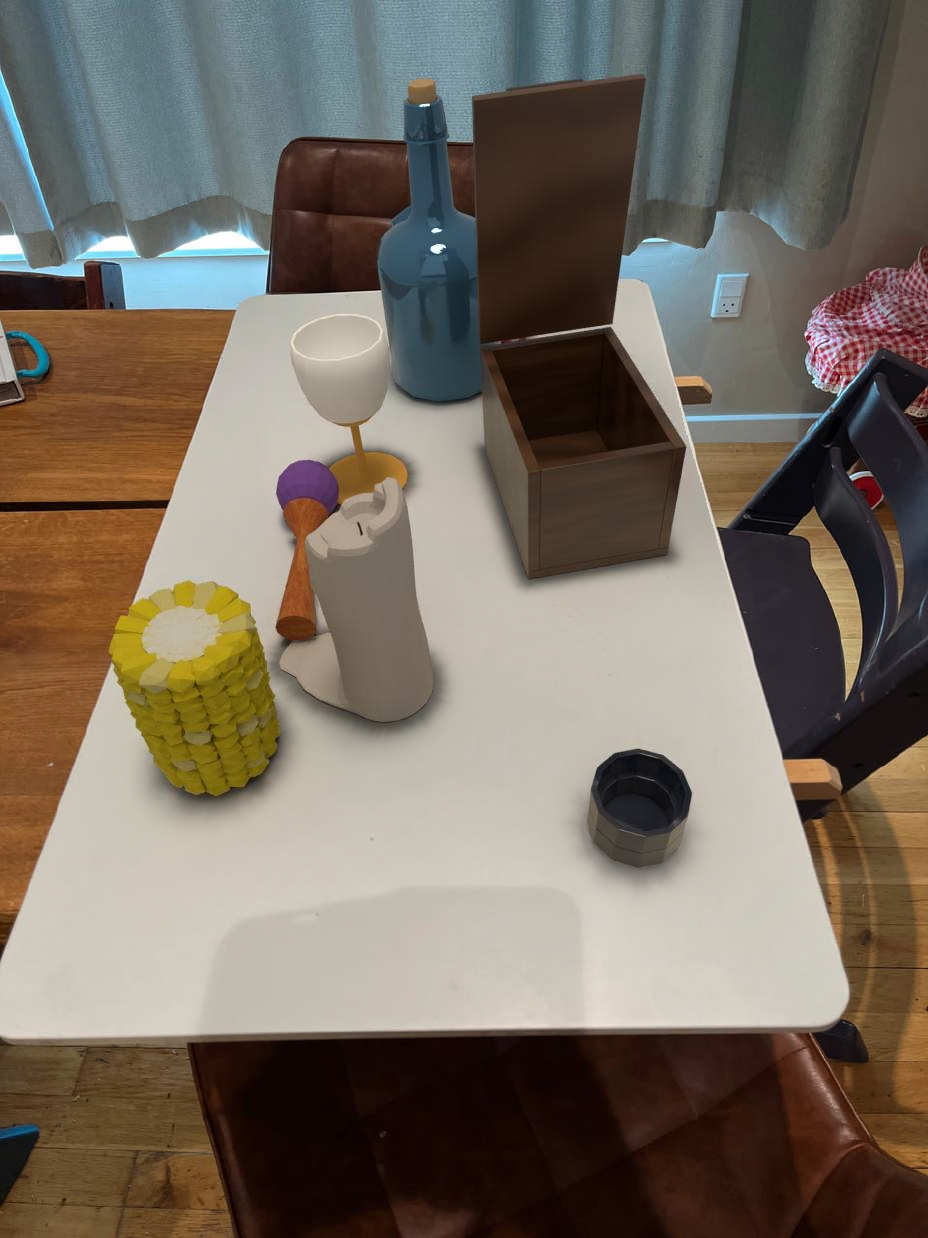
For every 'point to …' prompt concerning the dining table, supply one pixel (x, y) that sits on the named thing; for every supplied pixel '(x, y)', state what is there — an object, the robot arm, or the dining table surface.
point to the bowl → (638, 807)
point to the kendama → (303, 539)
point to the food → (197, 685)
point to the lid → (552, 203)
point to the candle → (365, 611)
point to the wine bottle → (431, 267)
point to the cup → (347, 390)
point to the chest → (579, 451)
